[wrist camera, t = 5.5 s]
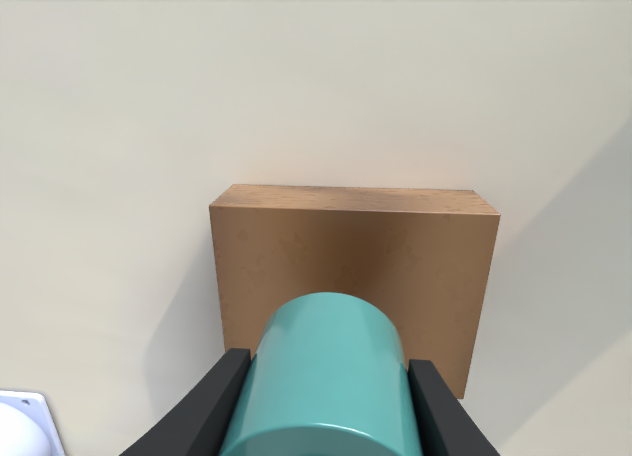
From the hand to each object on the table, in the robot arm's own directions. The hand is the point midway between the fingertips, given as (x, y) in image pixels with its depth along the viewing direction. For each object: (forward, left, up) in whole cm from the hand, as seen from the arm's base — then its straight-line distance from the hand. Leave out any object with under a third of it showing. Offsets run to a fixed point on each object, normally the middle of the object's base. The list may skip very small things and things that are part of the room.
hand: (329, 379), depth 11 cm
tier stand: (0, -5, -8) cm, 9 cm away
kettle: (0, 0, -1) cm, 1 cm away
